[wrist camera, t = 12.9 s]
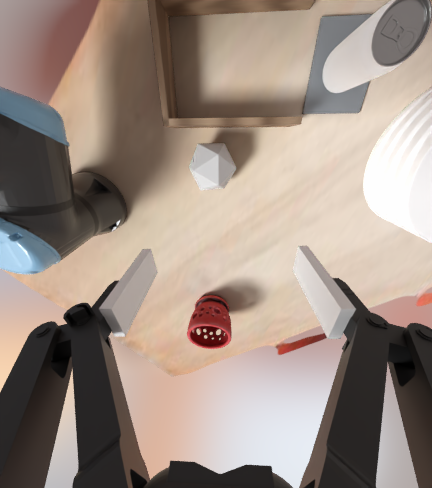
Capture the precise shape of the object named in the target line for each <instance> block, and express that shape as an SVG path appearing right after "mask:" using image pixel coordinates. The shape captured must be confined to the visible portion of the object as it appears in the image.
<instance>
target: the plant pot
mask: <svg viewBox="0 0 432 488" xmlns="http://www.w3.org/2000/svg"><path fill="white" fill-rule="evenodd" d="M228 312H229V306H228V304H227V302H226V301H225V300H224V299H222V298H221V297H218V296H214V295H208V296H204V297H202V298H200V299H199V300H198V301H197V302H196V304H195V311H194V312H193V314H192V317H191V319H190V323H189V327H188V332H187V336H188V338H189V340H190V341H191V342H192V343H193V344H195V345H197V346H199V347H202V348H208V349H216V348H221V347H224V346H226V345H227V344H229V342H230V341H231V320H230V316H229V313H228ZM197 328H198V329H199V330H200V332H201V334H200V335H198V334H197V332H196V330H197ZM203 329H206V330H207V332H206V333H205V332H203ZM218 329H221V334H220V335H216V331H217V330H218ZM192 330H193V332H192ZM210 332H213V335H210V334H209V333H210ZM224 333H225V336H224ZM204 335H207V337H208V338H207V339H205V338H204ZM212 337H214V339H213V340H212V339H211V338H212ZM219 338H221V340H219Z"/></svg>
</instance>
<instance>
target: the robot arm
mask: <svg viewBox="0 0 432 488" xmlns="http://www.w3.org/2000/svg"><path fill="white" fill-rule="evenodd" d="M68 146H69V143H68V142H67V138H66V133H65V127H64V122H63V119H62V117H61V116H60V114H59V113H58V112H57V111H56V110H55V109H54V108H52V107H51V106H49V105H47V104H45V103H43V102H40V101H37V100H35V99H32V98H29V97H27V96H24V95H22V94H19V93H16V92H13V91H11V90H8V89H5V88H2V87H0V268H1V269H3V270H6V271H9V272H13V273H18V274H35V273H39V272H42V271H44V270H45V269H47V268H49V267H50V266H52V265H53V264H56V263H58V262H60V261H61V260H62V259H63V258H65V257H66V256H67V255H69V254H70V253H71V252H73V251H74V250H75V249H77V248H78V247H79V246H81V245H82V244H84V243H85V242H86V241H88V240H89V239H90V238H92V237H93V236H97V235H101V234H105V233H109V232H112V231H114V230H116V229H117V228H118V227H119V226H121V225H122V224H123V222H124V220H125V218H126V213H127V210H126V204H125V201H124V198H123V196H122V195H121V193H120V192H119V190H118V189H117V188H116V187H115V186H114V185H113V184H112V183H111V182H110V181H109V180H107V179H106V178H104V177H102V176H100V175H98V174H95V173H91V172H81V173H76V174H72V172H71V164H70V156H69V149H68ZM293 272H294V274H295V276H296V278H297V280H298V282H299V284H300V286H301V288H302V290H303V292H304V293H305V295H306V297H307V299H308V301H309V303H310V305H311V307H312V309H313V311H314V313H315V315H316V317H317V319H318V321H319V323H320V324H321V326H322V328H323V330H324V332H325V334H326V336H327V338H328V339H340V338H341V337H342V335H343V333H344V334H345V336H346V337H347V341H346V342H345V344H344V346H343V348H342V349H343V352H342V356H341V359H340V362H339V366H338V369H337V372H336V376H335V379H334V382H333V385H332V389H331V392H330V395H329V398H328V402H327V405H326V408H325V412H324V415H323V418H322V421H321V425H320V428H319V432H318V435H317V438H316V441H315V444H314V448H313V451H312V454H311V458H310V461H309V463H308V466H307V468H306V470H305V473H304V475H303V478H302V481H301V484H300V487H299V488H376V473H377V463H378V452H379V442H380V433H381V423H382V412H383V403H384V393H385V383H386V372H387V362H388V364H389V369H390V373H391V377H392V380H393V385H394V389H395V393H396V397H397V401H398V405H399V409H400V413H401V417H402V421H403V426H404V430H405V433H406V438H407V441H408V446H409V450H410V454H411V458H412V462H413V466H414V470H415V474H416V478H417V482H418V486H419V488H432V329H431V328H429V327H427V326H424V325H422V324H418V323H410V324H409V325H408V326H407V328H404V327H400V326H396V325H392V324H389V323H388V322H387V321H386V320H385V319H383V318H382V317H380V316H379V315H377V314H374V313H371V312H370V311H368V309H367V308H366V307H365V305H364V304H363V303H362V302H361V301H360V299H359V298H358V297H357V296H356V295H355V294H354V292H353V291H352V290H351V289H350V288H349V286H348V285H347V284H346V283H345V282H343V281H342V280H340V279H339V278H332V277H331V276H330V275H329V273H328V272H327V271H326V269H325V268H324V267H323V266H322V264H321V263H320V262H319V260H318V259H317V258H316V256H315V255H314V254H313V253H312V251H311V250H310V249H309V247H308V246H298V250H297V254H296V259H295V263H294V268H293ZM156 274H157V269H156V265H155V262H154V258H153V254H152V251H151V249H143V250H142V251H141V252H140V254H139V255H138V256H137V258H136V259H135V260H134V262H133V263H132V264H131V266H130V267H129V269H128V270H127V271H126V273H125V274H124V275H123V277H122V278H121V279H120V281H114V282H113V283H111V284H110V285H109V286H108V287H107V289H106V290H105V292H103V294H102V295H101V296H100V297H99V299H98V300H97V301H96V303H95V304H94V305H93V306H92V308H91V307H90V305H89V304H88V303H80V304H77V305H75V306H73V307H71V308H70V309H69V310H68V311H67V312H66V313H65V314H64V320H65V321H66V322H67V324H64V325H61V326H58V325H57V324H56V323H55V322H52V321H51V322H47V323H44V324H42V325H40V326H39V327H37V328H35V329H34V330H33V331H32V332H31V333H30V335H29V336H28V338H27V340H26V342H25V344H24V346H23V348H22V350H21V352H20V354H19V356H18V358H17V360H16V362H15V364H14V366H13V368H12V370H11V372H10V374H9V376H8V378H7V380H6V382H5V384H4V386H3V388H2V390H1V392H0V488H44V486H45V482H46V478H47V474H48V470H49V465H50V460H51V457H52V452H53V448H54V444H55V440H56V435H57V431H58V426H59V423H60V418H61V414H62V410H63V405H64V401H65V397H66V392H67V388H68V383H69V380H70V375H71V371H72V367H73V383H74V399H75V412H76V413H75V414H76V431H77V446H78V460H79V461H78V462H79V469H78V473H77V474H76V476H75V478H74V481H73V488H293V487H292V486H291V485H290V484H289V483H287V482H286V481H285V480H284V479H283V478H281V477H279V476H278V475H277V474H275V473H273V472H272V467H271V466H259V465H244V466H242V467H239V468H236V469H234V470H231V471H228V472H226V473H223V474H218V473H216V472H214V471H212V470H209V469H207V468H206V467H203V466H201V465H199V464H197V463H195V462H184V461H170V466H169V468H166V469H164V470H163V471H161V472H159V473H158V474H157V475H155V476H154V477H153V478H152V479H151V480H150V478H149V474H148V471H147V468H146V465H145V462H144V460H143V458H142V456H141V453H140V450H139V446H138V442H137V439H136V435H135V431H134V428H133V424H132V420H131V417H130V413H129V409H128V405H127V401H126V398H125V394H124V390H123V386H122V382H121V379H120V375H119V371H118V368H117V364H116V360H115V356H114V353H113V349H112V345H111V341H110V338H109V337H108V336H109V335H110V333H111V331H112V333H113V334H114V336H126V334H127V332H128V330H129V328H130V326H131V324H132V322H133V320H134V318H135V316H136V314H137V312H138V310H139V308H140V306H141V304H142V302H143V300H144V298H145V296H146V294H147V292H148V290H149V288H150V286H151V284H152V282H153V280H154V278H155V276H156Z"/></svg>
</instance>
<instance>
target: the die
mask: <svg viewBox="0 0 432 488" xmlns="http://www.w3.org/2000/svg"><path fill="white" fill-rule="evenodd" d="M189 169H190V171H191V173H192V175H193V177H194V179H195V181H196V182H197V184H198V186H199V188H200V190H210V189H222V188H225V186H226V184H227V183H228V181H229V180H230V178H231V177H232V175H233V173H234V172H235V170H236V169H237V168H236V166H235V164H234V162H233V160H232V158H231V155H230V153H229V151H228V149H227V147H226V145H225V143H209V144H198V145H197V147H196V150H195V152H194V155H193V158H192V160H191V163H190V165H189Z"/></svg>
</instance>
